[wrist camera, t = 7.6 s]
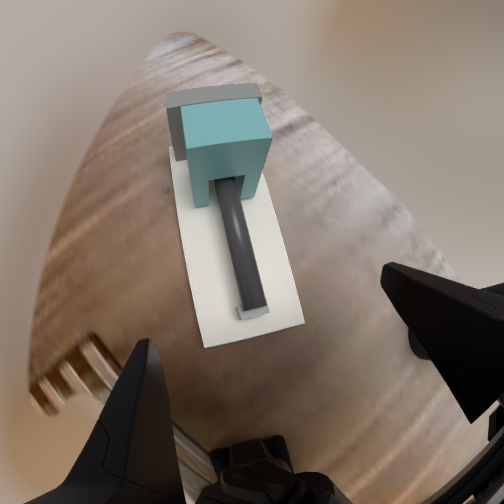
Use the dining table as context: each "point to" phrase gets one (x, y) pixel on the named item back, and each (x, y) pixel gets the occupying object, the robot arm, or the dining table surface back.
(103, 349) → the dining table surface
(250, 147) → the teal block on rod
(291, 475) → the robot arm
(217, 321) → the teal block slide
